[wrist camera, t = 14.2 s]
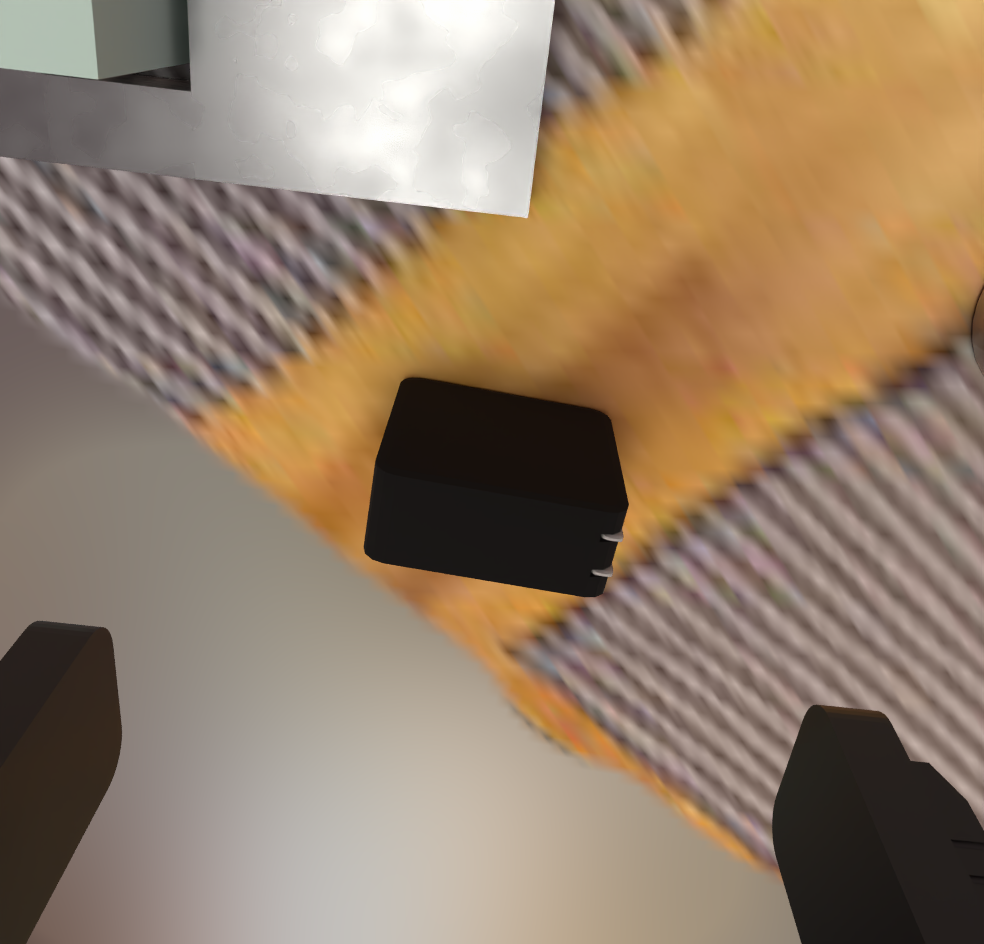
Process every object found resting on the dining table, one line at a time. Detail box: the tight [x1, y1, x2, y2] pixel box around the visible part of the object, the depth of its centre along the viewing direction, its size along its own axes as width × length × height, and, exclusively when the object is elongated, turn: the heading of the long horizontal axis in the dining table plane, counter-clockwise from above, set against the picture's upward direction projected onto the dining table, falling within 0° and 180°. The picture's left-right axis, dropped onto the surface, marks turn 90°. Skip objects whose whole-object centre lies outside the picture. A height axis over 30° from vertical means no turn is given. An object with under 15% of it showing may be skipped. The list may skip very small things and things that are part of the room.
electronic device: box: [364, 378, 629, 597], centre depth 40 cm, size 4×10×10 cm, turn 80°
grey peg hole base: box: [0, 0, 555, 218], centre depth 35 cm, size 22×12×4 cm, turn 84°
